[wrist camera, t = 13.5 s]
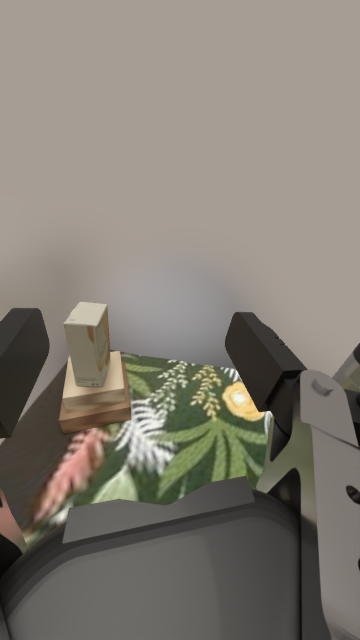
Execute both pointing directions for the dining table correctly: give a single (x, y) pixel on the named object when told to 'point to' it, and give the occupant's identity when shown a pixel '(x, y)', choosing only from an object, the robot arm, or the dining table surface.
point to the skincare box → (89, 343)
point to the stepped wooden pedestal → (96, 399)
